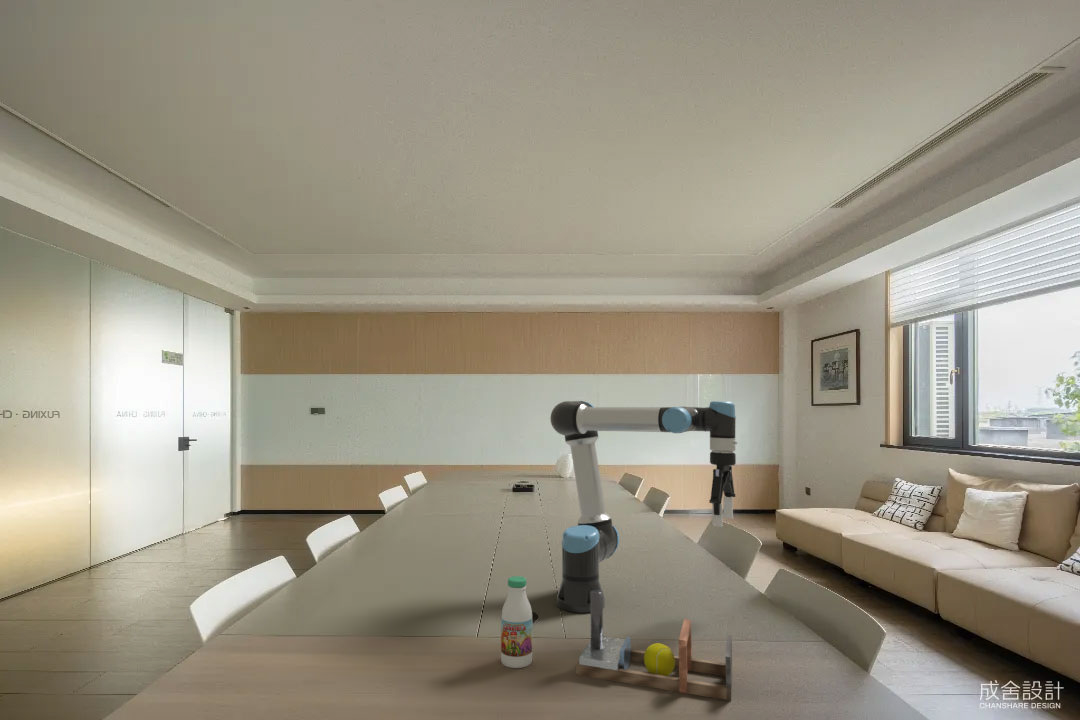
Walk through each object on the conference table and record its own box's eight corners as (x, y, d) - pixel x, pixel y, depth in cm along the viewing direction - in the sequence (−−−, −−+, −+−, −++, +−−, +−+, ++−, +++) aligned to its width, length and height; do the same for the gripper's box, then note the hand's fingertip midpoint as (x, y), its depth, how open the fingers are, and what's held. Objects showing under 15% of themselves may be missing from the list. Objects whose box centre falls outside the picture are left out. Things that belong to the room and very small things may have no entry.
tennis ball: (638, 671, 134) (638, 641, 135) (663, 666, 137) (662, 636, 138) (655, 685, 128) (655, 653, 129) (681, 679, 131) (680, 648, 131)
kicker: (579, 674, 132) (579, 599, 133) (593, 650, 145) (593, 582, 146) (621, 681, 129) (621, 605, 130) (632, 656, 142) (632, 587, 143)
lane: (575, 674, 133) (575, 625, 134) (589, 652, 145) (589, 607, 146) (731, 701, 121) (730, 646, 122) (732, 674, 133) (731, 625, 134)
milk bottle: (500, 655, 143) (501, 574, 144) (531, 654, 144) (531, 573, 145) (501, 669, 135) (501, 583, 137) (533, 668, 136) (533, 582, 137)
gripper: (725, 455, 162) (726, 531, 160) (743, 449, 183) (744, 516, 182) (699, 453, 166) (699, 527, 164) (720, 448, 187) (720, 513, 186)
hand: (722, 522), depth 173 cm, fingers open, 13 cm apart
